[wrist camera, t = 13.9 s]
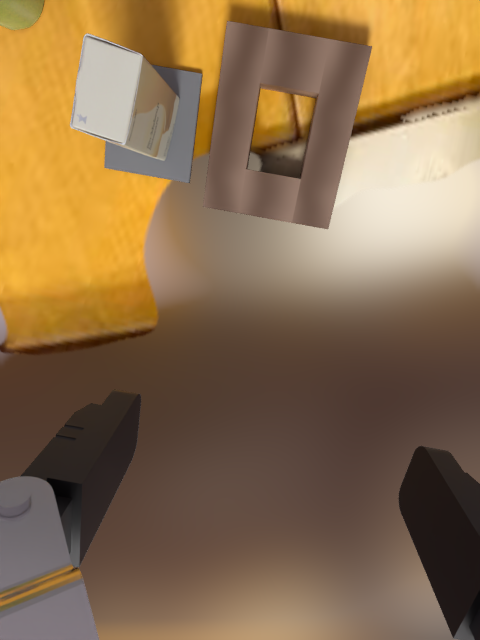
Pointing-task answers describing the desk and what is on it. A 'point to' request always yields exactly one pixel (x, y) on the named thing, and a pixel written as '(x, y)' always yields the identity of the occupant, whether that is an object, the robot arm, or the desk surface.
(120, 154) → the mat
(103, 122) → the skincare box
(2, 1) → the plant pot
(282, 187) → the puzzle board
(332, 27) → the desk surface
